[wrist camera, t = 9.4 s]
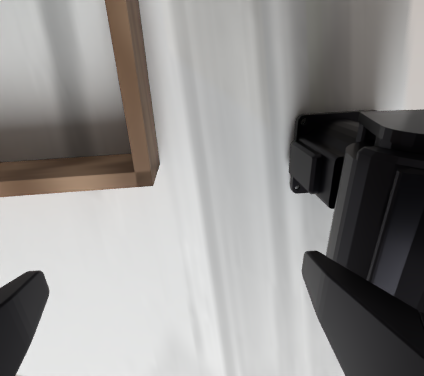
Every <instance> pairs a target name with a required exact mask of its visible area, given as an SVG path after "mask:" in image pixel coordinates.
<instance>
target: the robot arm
mask: <svg viewBox="0 0 424 376" xmlns="http://www.w3.org/2000/svg"><path fill="white" fill-rule="evenodd" d="M303 118H305V123H304V124H301V120H302V119H303ZM289 173H290V174H291V185H290V188H291V190H292V191H293V192H294V193H310V194H316V195H317V196H318V197H319V198H320V199H321V200H322V201H323V202H324V203H325V204H326V205H327V206H328V207H329V208H331V209H334V208H335V209H334V214H333V219H332V225H331V230H330V235H329V241H328V246H327V252H326V256H325V255H323V254H322V253H320V252H318V251H306V252H305V254H304V258H303V265H302V275H303V279H304V281H305V284H306V287H307V290H308V293H309V296H310V298H311V301H312V304H313V307H314V310H315V312H316V315H317V317H318V320H319V322H320V324H321V326H322V328H323V330H324V332H325V334H326V336H327V339H328V341H329V343H330V345H331V347H332V349H333V351H334V353H335V355H336V357H337V359H338V361H339V363H340V366H341V368H342V370H343V372H344V374H345V376H424V110H396V111H375V110H363V111H346V112H330V113H313V114H301V115H299V116H298V117H297V119H296V124H295V136H294V141H293V142H292V143H291V150H290V163H289ZM297 185H299V187H298V188H297V189H295V187H296V186H297ZM48 296H49V287H48V285H47V282H46V279H45V276H44V274H43V272H42V271H28V272H26V273H24V274H22V275H21V276H19V277H17V278H16V279H14V280H13V281H11V282H9V283H8V284H6V285H4V286H3V287H1V288H0V376H15V375H16V373H17V371H18V369H19V367H20V365H21V363H22V361H23V359H24V357H25V355H26V353H27V351H28V348H29V346H30V344H31V342H32V339H33V337H34V334H35V332H36V329H37V326H38V324H39V321H40V318H41V316H42V313H43V310H44V307H45V305H46V302H47V299H48Z"/></svg>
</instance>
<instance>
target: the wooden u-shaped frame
mask: <svg viewBox="0 0 424 376" xmlns="http://www.w3.org/2000/svg"><path fill="white" fill-rule="evenodd" d="M105 4H106V10H107V16H108V21H109V27H110V33H111V39H112V44H113V50H114V56H115V62H116V67H117V73H118V79H119V85H120V90H121V96H122V102H123V107H124V113H125V119H126V125H127V130H128V136H129V142H130V148H131V153H132V154H119V155H104V156H89V157H74V158H59V159H44V160H29V161H14V162H0V197H8V196H22V195H35V194H49V193H62V192H76V191H89V190H103V189H116V188H130V187H143V186H153V184H154V181H155V178H156V175H157V171H158V168H159V165H160V162H159V155H158V147H157V140H156V132H155V124H154V117H153V109H152V102H151V94H150V86H149V79H148V71H147V64H146V56H145V48H144V41H143V33H142V26H141V18H140V10H139V3H138V0H105Z"/></svg>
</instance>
